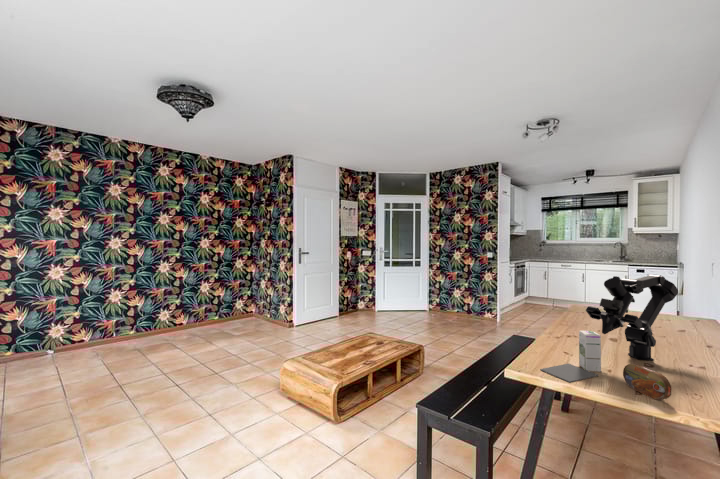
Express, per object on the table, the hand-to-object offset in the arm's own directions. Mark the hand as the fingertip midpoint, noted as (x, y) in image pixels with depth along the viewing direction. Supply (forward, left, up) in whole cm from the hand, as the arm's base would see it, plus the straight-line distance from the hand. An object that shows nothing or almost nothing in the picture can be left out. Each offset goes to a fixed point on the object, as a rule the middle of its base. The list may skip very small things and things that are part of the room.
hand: (603, 333), depth 134 cm
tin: (0, +24, -13) cm, 28 cm away
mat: (+18, +10, -13) cm, 24 cm away
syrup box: (+7, +4, -13) cm, 16 cm away
